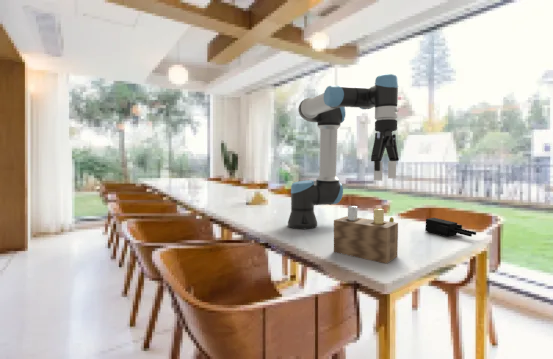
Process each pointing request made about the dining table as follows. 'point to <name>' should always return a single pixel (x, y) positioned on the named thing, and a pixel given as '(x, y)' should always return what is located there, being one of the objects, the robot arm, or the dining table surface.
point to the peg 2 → (379, 216)
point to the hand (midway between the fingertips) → (385, 179)
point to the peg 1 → (352, 213)
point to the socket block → (366, 239)
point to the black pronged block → (446, 228)
